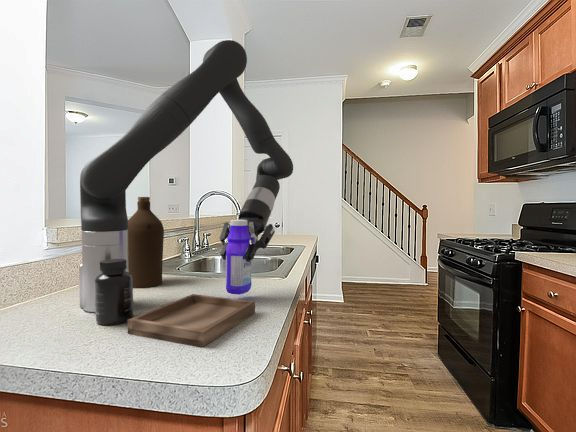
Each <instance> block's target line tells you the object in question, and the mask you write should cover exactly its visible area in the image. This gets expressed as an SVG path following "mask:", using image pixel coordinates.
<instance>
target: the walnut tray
mask: <svg viewBox="0 0 576 432" xmlns="http://www.w3.org/2000/svg"><path fill="white" fill-rule="evenodd" d="M254 314H256V301H253V300H246V299H245V300H244V299H238V298H237V299H236V298H227V297H221V296H213V295H204V294H196V293H192V294H190V295H187V296H184V297H181V298H179V299H177V300H174V301H171V302H169V303H166V304H163V305H162V306H159V307H157V308H154V309H151V310H149V311H146V312H143V313H140V314H139V315H137V316H133V317H132V318H131V319H128V321H127V334H128V335H132V336H133V335H134V336H139V337H144V338H149V339H156V340H160V341H167V342H172V343H177V344H183V345H188V346H192V347H199V348H205V347H206V346H208V345H209V344H211V343H213V342H214V341H215V340H216V339H218V338H220V337H221V336H222V335H223V336H224V334H225V333H227V332H229V331H231V330H233V328H235V327H236V326H238V325H240V324H241V323H242V322H244V321H246V320H247V319H248V318H250V317H252V316H254Z"/></svg>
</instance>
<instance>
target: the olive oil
mask: <svg viewBox="0 0 576 432" xmlns="http://www.w3.org/2000/svg"><path fill="white" fill-rule="evenodd" d="M150 199H151V197H150V196H137V210H136V212H135V213H133V215H132V216H131V217H129V219H128V261H129V273H130V274H131V275H132V279H133V289H134V288H135V289H143V288H152V287H157V286H160V285H161V284H162V283H163V264H164V263H163V259H164V257H163V256H164V237H165V230H164V225H163V222H162V221H161V220H160V219H159V218H158V216H156V214H155V213H154V212H152V209H151V201H150Z"/></svg>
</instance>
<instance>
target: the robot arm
mask: <svg viewBox="0 0 576 432" xmlns="http://www.w3.org/2000/svg"><path fill="white" fill-rule="evenodd" d="M247 62H248V56H247V52H246V49H245V48H244V47H243V45H242V44H241V43H239V42H238V41H235V40H234V39H233V40H231V39H225V40H224V39H223V40H221V41H218V43H216V44H214V45H213V46H212V47H210V48H209V49H208V50H207V51H206V52H205V53H204V55H203V59H202V63H200V65H199V66H198V67H197V68H196V69H195V70H192V72H190V73H189V74H187V75H186V76H184V77H183V78H182V79H181V80H178V81H177V82H176V83H174V84H173V85H171V86H170V87H169V88H168V89H166V90H165V91H164V92H162V93H161V94H160V95H159V96H158V97H157V98H156V99H155V100H154V101H153V102H151V104H149V105H148V106H147V107H146V109H144V110H143V112H142V113H141V114H140V115H139V116H138V118H137V119H136V120H135V121H134V122H133V124H132V125H131V127H129V129H128V131H127V132H126V133H125V134H123V136H122V137H120V138H119V139H118V140H117V141H116V142H114V143H113V144H112V145H111V146H109V147H108V148H106V149H105V150H104V151H102V152H101V153H99V154H98V155H97V156H95V157H93V158H91V159H90V160H89V161H88V162H87V163H85V165H84V166H83V168H82V170H81V172H80V176H79V192H80V193H79V196H80V199H79V200H80V201H79V202H80V221H81V223H80V225H81V264H80V265H79V267H78V271H79V272H78V273H79V275H78V279H79V283H78V285H79V286H78V287H79V308H82V310H83V311H84V312H89V313H95V286H94V281H95V279H96V277H97V276H98V275H100V274H101V271H100V270H99V269H100V261H103V260H109V259H126V262H127V269H126V272H128V273H129V261H128V220H129V219H128V212H127V200H126V196H127V194H126V190H127V189H128V188H129V186H130V185H131V184H132V182H133V181H134V180H135V178H136V177H137V176H138V175H139V173H141V171H142V170H143V169H144V168H145V166H146V165H147V164H148V163H149V162H150V161H151V160H152V159H153V158H154V157H156V156H157V155H158V154H159V153H161V152H162V151H163V150H164V149H166V148H167V147H168V146H169V145H171V144H172V143H173V142H174V141H175V140H176V139H177V138H179V136H181V135H182V134H183V133H184V132H185V131H186V129H188V127H189V126H191V125H192V123H193V122H194V121H195V120H196V119H197V118H198V116H200V114H201V113H203V111H204V110H205V109H206V108H207V106H208V105H209V104H210V103H211V102H212V100H213V99H214V98H215V97H216V96H217V95H218V94H219V95H220V96H221V97H222V99H223V101H224V102H225V103H226V105H227V106H228V108H229V109H230V110H231V112H232V114H233V115H234V117H235V119H236V121H237V122H238V123H239V126H240V127H241V130H242V131H243V133H244V135H245V137H246V139H247V142H248V143H249V145H250V147H251V149H252V151H253V152H254V153H255V154H257V155H258V154H259V155H260V154H262V155H263V154H264V155H267V156H269V157H268V158H264V159H263V160H262V161H260V162H259V163H258V165H257V168H256V178H255V183H254V185H253V187H252V189H251V191H250V192H249V194H248V195H247V197H246V199H245V201H244V203H243V205H242V207H241V209H240V212H239V214H238V218H237V220H247V223H248V226H247V227H248V233H249V235H250V237H251V239H250V245H249V247H248V249H247V252H246V254H245V259H246V261H247V262H250V261H251V262H252V261H253V259H254V258H255V255H256V253H257V251H258V250H259V249H263V250H264V249H266V248H267V247H268V245H269V243H270V241H271V240H272V238H273V237H274V235H275V233H276V230H275V228H274V226H273V224H272V223H269V219H270V217H271V214H272V211H273V210H274V206H275V202H276V199H277V197H278V195H279V192H280V187H281V185H280V182H279V181H280V180H282V179H287V178H290V176H292V174H293V173H294V172H293V171H294V164H293V161H292V160H293V159H291V157H290V155H289V154H288V153H287V152H286V150H285V149H284V148H283V147H282V146H281V144H279V143H278V141H277V140H276V138H275V136H274V135H273V132H272V130H271V128H270V126H269V124H268V122H267V120H266V118H265V117H264V116H263V114H262V113H261V112H260V110H259V109H258V108H257V107H256V106H255V105H254V104H253V103H252V102H251V100H249V99H248V97H247V96H246V94H245V93H244V91H243V89H242V87H241V86H240V83H239V81H238V79H239V77H240V76H242V74H243V73H244V72H245V70H246V68H247V64H248V63H247ZM268 223H269V224H268ZM230 224H231V223H229V222H227V221H226V222H224V223H223V226H222V230H221V233H220V236H219V240H220V243H221V244H222V248H221V251H220V256H221V258H222V260H224V261H226V248H227V245H228V240H227V237H228V235H229V233H230V226H231V225H230ZM260 235H261V236H260ZM259 236H260V238H259Z"/></svg>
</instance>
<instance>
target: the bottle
mask: <svg viewBox="0 0 576 432" xmlns="http://www.w3.org/2000/svg"><path fill="white" fill-rule="evenodd" d="M229 224H230V225H231V226H230V233H229V235H228V237H227V240H228V245H227V248H226V260H225V289H226V292H227V293H228V294H230V295H243V294H244V295H245V294H247V293H248V292H250V290H251V288H252V260H251V261H250V262H247V261H246V259H245V254H246V252H247V249H248V247H249V245H251V240H250V239H251V237H250V235H249V233H248V227H247V226H248V223H247V220H238V219H231V220H230V223H229Z"/></svg>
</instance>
